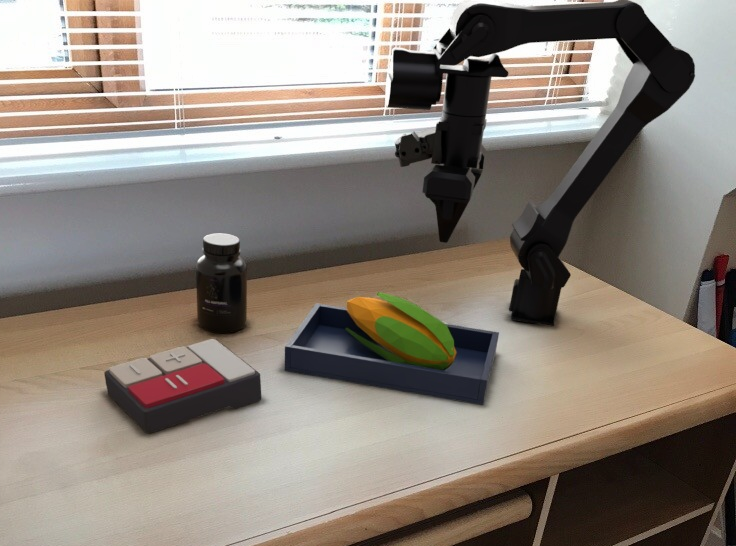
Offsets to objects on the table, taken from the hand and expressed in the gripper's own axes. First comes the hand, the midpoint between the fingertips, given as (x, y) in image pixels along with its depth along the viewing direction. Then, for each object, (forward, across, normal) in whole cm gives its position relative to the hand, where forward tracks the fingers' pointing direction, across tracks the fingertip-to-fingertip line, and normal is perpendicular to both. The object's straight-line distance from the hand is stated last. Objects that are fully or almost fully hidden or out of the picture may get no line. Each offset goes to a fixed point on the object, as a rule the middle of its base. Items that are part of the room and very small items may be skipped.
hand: (448, 231), depth 119 cm
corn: (+11, +18, -4) cm, 22 cm away
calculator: (+12, +37, -25) cm, 46 cm away
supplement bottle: (+12, +16, -28) cm, 34 cm away
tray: (+12, +19, -3) cm, 23 cm away
